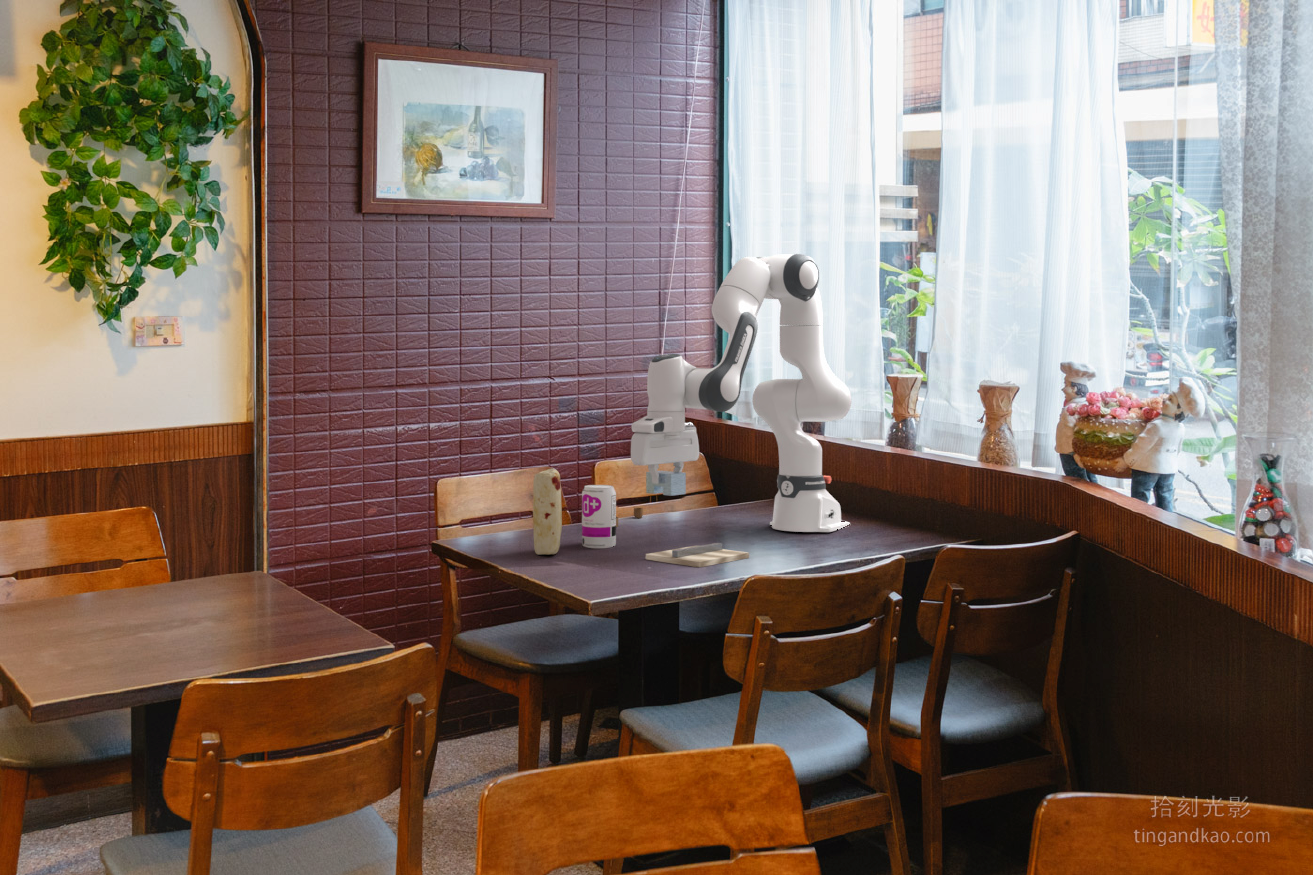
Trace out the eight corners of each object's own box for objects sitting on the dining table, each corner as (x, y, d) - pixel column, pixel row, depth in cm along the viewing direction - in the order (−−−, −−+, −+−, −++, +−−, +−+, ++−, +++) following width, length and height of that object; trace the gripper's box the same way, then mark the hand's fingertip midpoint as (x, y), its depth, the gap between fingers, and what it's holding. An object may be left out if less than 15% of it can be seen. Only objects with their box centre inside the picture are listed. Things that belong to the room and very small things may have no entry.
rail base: (696, 550, 287) (696, 545, 287) (749, 557, 276) (749, 552, 276) (645, 559, 274) (645, 554, 273) (699, 567, 263) (699, 562, 263)
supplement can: (599, 551, 285) (599, 488, 284) (575, 547, 290) (575, 486, 289) (622, 547, 291) (622, 486, 290) (598, 544, 296) (598, 483, 295)
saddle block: (660, 491, 285) (660, 470, 285) (685, 493, 280) (685, 472, 280) (646, 493, 282) (646, 471, 281) (671, 495, 276) (671, 474, 276)
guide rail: (717, 549, 281) (717, 542, 281) (722, 549, 280) (722, 543, 280) (672, 557, 269) (672, 550, 269) (677, 557, 268) (677, 551, 268)
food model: (564, 556, 277) (564, 470, 276) (535, 557, 275) (535, 471, 274) (559, 550, 286) (559, 467, 285) (531, 551, 285) (531, 467, 284)
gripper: (685, 421, 289) (685, 478, 290) (626, 424, 275) (626, 484, 276) (705, 422, 285) (705, 480, 286) (646, 425, 270) (646, 486, 271)
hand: (666, 482), depth 281 cm, fingers closed on saddle block, 5 cm apart
